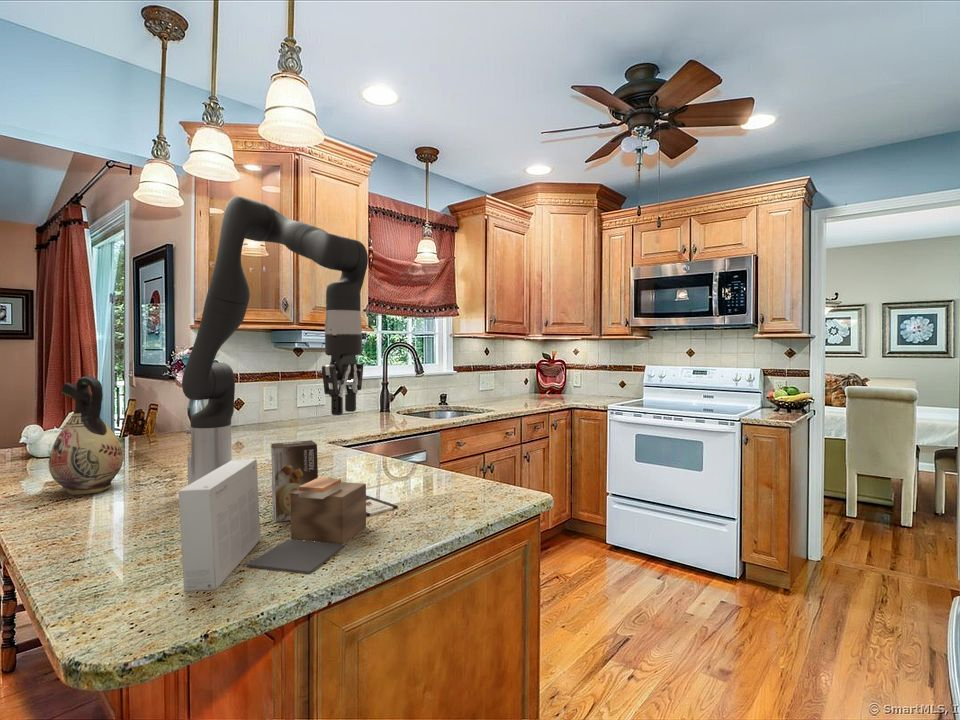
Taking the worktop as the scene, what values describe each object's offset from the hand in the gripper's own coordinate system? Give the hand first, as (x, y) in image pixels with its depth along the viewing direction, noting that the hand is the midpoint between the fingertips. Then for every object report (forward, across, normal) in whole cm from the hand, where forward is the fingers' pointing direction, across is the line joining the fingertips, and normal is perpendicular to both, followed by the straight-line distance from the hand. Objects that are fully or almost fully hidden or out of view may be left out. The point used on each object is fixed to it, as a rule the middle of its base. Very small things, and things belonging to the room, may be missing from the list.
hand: (344, 412), depth 110 cm
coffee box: (+24, -2, -13) cm, 27 cm away
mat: (+23, +18, 0) cm, 30 cm away
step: (+23, +6, 0) cm, 24 cm away
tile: (+14, +10, 0) cm, 17 cm away
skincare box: (+24, +24, -10) cm, 35 cm away
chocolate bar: (+24, -13, -3) cm, 28 cm away
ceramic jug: (+24, -7, -76) cm, 80 cm away
